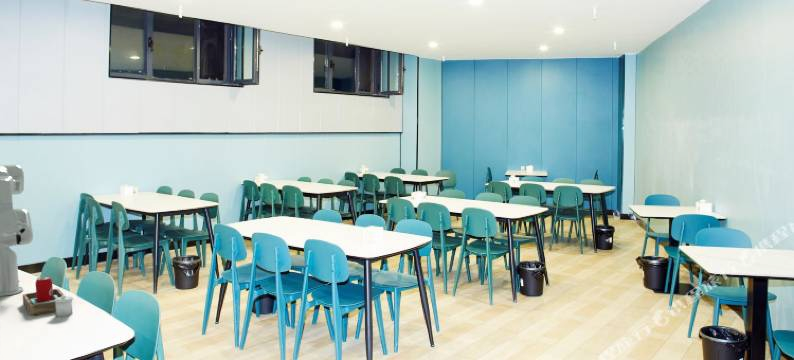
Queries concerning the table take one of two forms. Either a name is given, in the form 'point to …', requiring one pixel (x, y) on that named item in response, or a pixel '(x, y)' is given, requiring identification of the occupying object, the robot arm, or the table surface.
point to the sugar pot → (63, 306)
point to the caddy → (42, 307)
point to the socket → (34, 301)
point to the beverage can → (44, 289)
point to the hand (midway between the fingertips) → (5, 245)
